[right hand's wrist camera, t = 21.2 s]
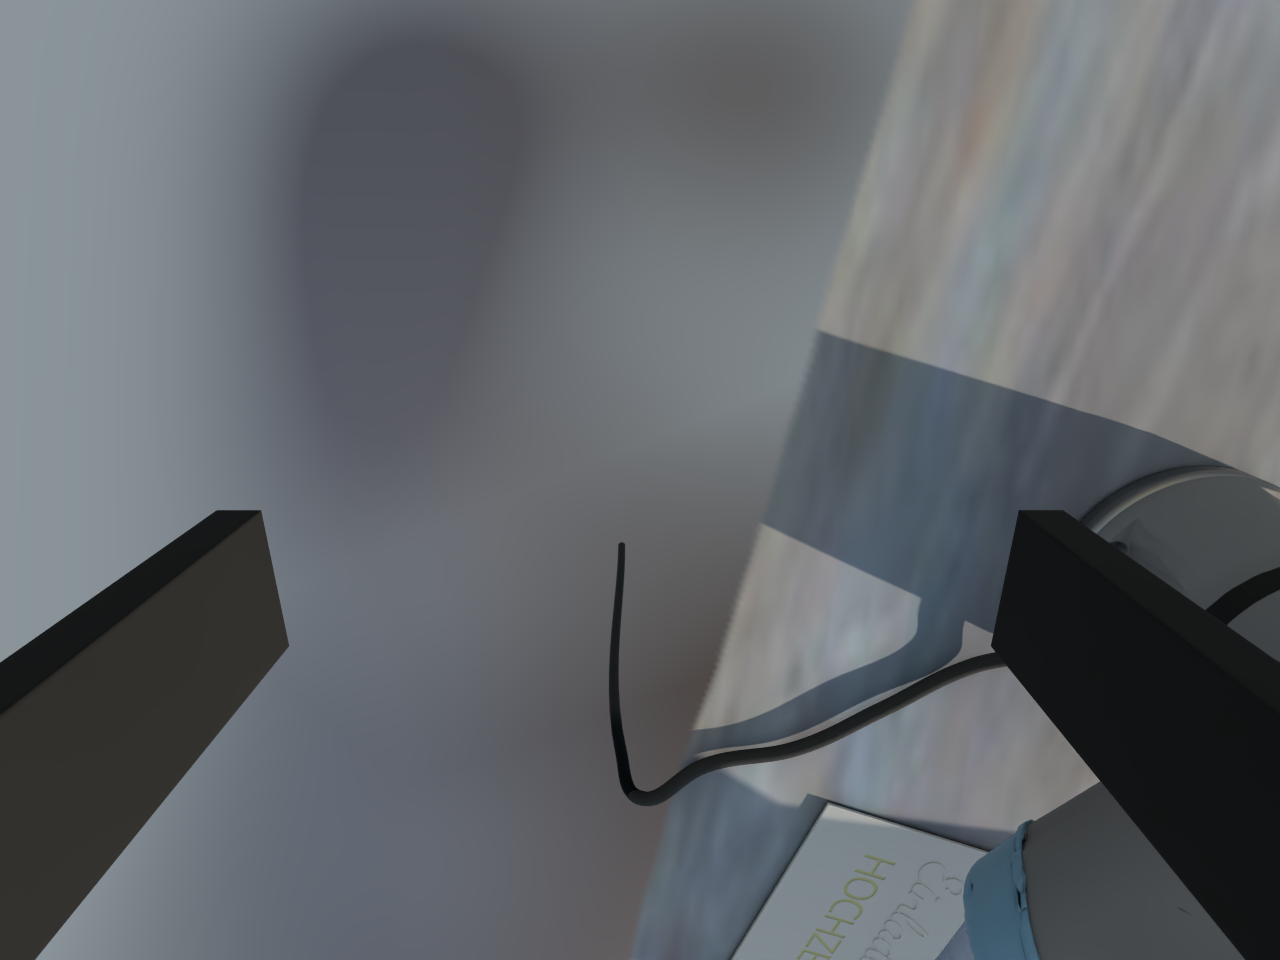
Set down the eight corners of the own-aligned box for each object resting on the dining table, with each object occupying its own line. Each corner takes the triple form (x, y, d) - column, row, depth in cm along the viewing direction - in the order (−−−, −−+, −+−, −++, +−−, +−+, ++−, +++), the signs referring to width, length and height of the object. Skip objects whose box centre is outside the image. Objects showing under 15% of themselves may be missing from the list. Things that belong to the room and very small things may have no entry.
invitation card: (828, 805, 50) (1011, 861, 52) (827, 802, 50) (1009, 858, 52) (711, 994, 57) (876, 1037, 59) (711, 990, 58) (875, 1034, 59)
